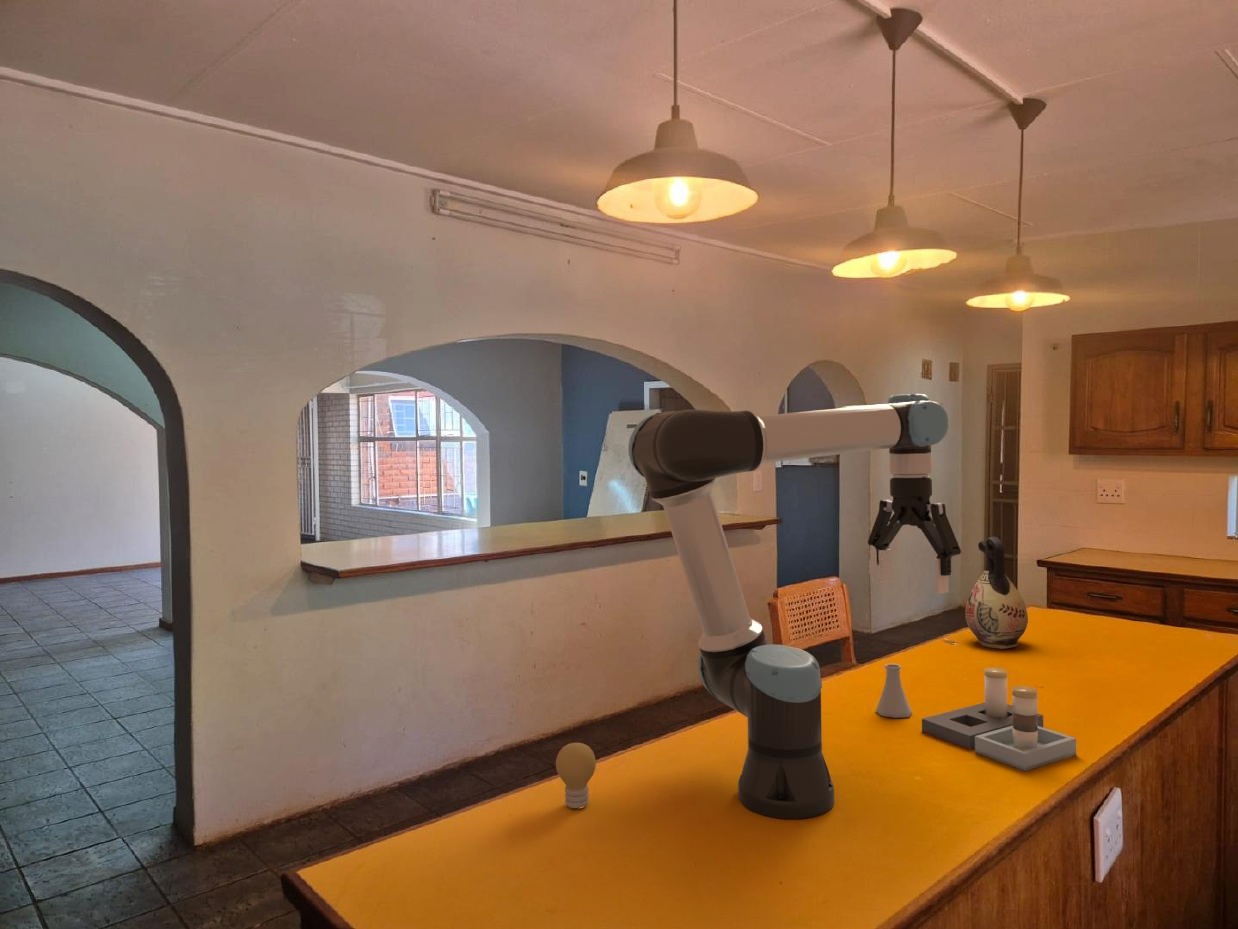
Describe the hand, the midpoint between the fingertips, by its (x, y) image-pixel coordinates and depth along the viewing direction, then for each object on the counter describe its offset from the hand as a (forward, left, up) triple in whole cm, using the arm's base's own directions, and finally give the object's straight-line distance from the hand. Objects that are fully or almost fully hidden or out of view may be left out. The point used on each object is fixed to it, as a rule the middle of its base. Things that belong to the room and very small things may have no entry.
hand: (912, 587), depth 155 cm
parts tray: (+10, -16, -29) cm, 34 cm away
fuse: (+18, -4, -29) cm, 34 cm away
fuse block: (+14, -4, -29) cm, 32 cm away
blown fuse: (+10, -16, -28) cm, 34 cm away
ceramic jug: (+71, +36, -29) cm, 85 cm away
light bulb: (-68, +7, -29) cm, 74 cm away
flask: (+7, +12, -29) cm, 32 cm away
